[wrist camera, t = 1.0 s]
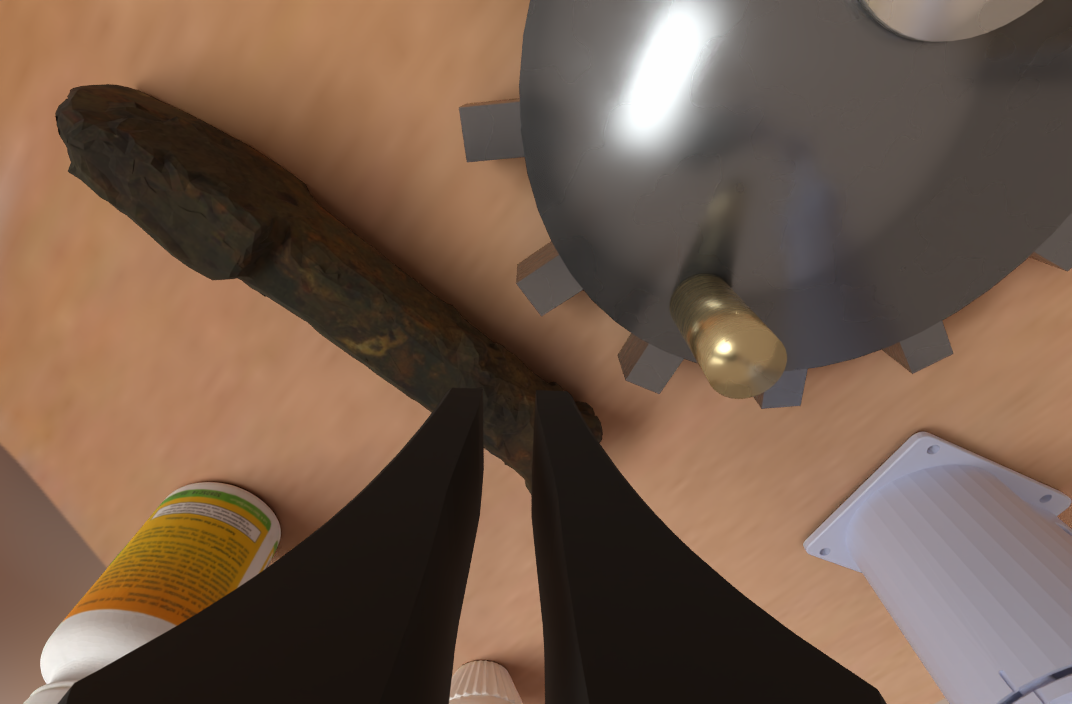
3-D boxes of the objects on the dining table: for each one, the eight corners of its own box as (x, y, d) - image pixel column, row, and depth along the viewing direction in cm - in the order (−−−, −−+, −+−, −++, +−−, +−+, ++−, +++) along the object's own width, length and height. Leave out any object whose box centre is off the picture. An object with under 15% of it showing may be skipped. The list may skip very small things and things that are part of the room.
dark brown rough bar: (600, 397, 22) (618, 472, 18) (533, 451, 23) (534, 532, 19) (177, 13, 15) (46, -11, 11) (114, 118, 16) (-23, 132, 12)
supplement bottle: (147, 478, 23) (-75, 717, 15) (268, 477, 23) (118, 714, 15) (186, 559, 26) (17, 803, 17) (295, 558, 26) (180, 800, 17)
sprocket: (1361, -114, 13) (1905, -233, 8) (836, 445, 22) (933, 563, 17) (715, -761, 9) (983, -1943, 4) (379, 255, 18) (316, 333, 12)
